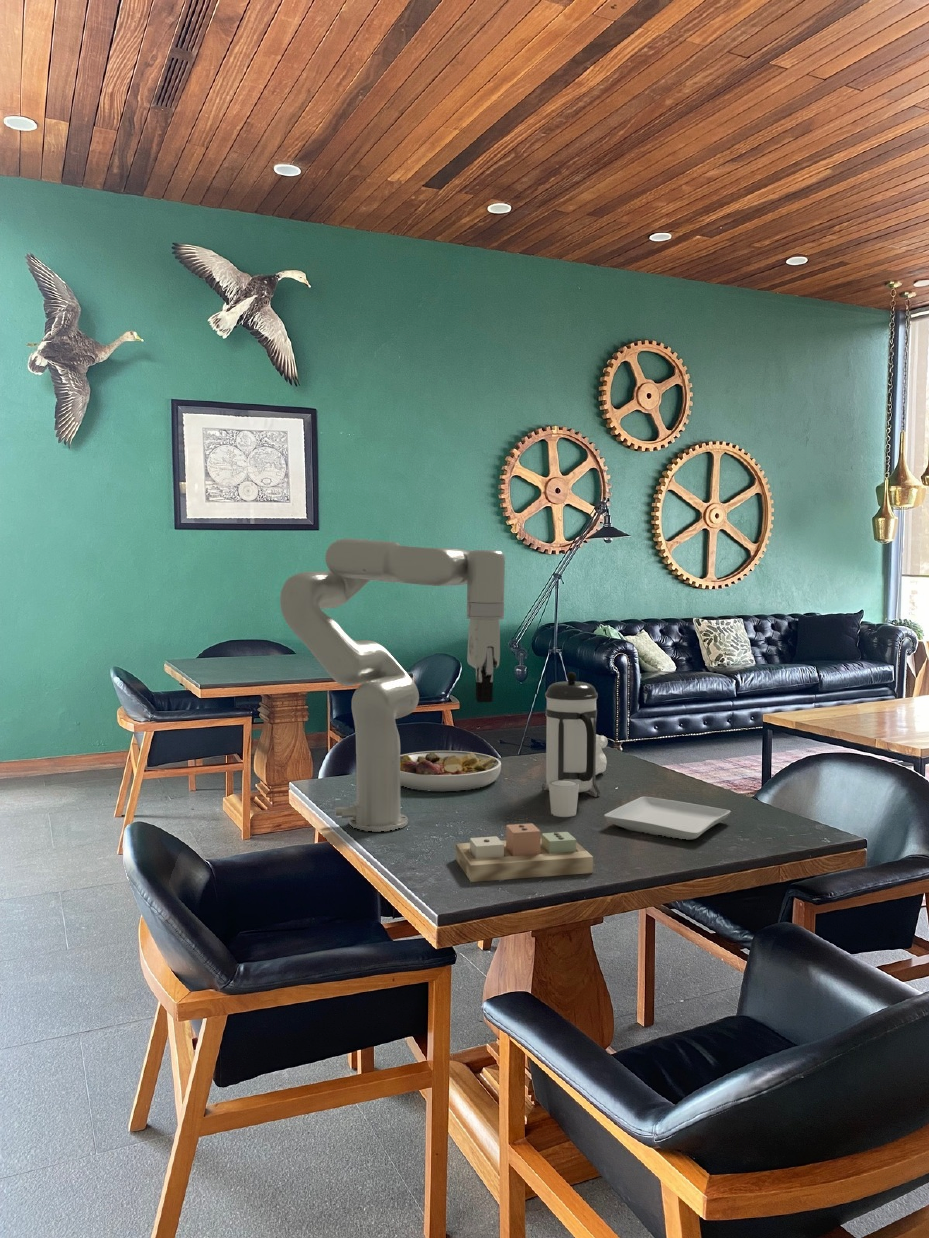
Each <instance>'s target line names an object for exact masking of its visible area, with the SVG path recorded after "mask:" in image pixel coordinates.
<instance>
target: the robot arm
mask: <svg viewBox="0 0 929 1238" xmlns="http://www.w3.org/2000/svg"><path fill="white" fill-rule="evenodd" d="M324 557H325V558H324V561H325V564H326V566H327V568H328V570H324V571H322V570H321V571H319V570H318V571H317V570H316V571H315V570H314V571H311V570H310V571H302V572H297V573H295V574H293V575H291V576H290V577H288V578H287V579H286V581H285V582H284V584H283V585H282V588H281V591H280V598H279V601H280V610H281V614H282V617H283V620H285V623H286V624H287V626H288V627H289V629H290V630H291V631H292V632H293V633H294V634H295V636H296V637H298V639H299V640H300V641H301V642H302V643H303V644H304V646H306V648H307V649H308V650H309V651H310V653H311V654H312V655H313V656H314V657H315V660H317V662H318V663H319V664H320V665H321V666H322V667H323V669H324V670H325V671H326V672H327V674H328V675H329V676H330V677H331V678H332V680H334V681H335V682H336V683H337V684H339V685H340V686H345V687H349V686H350V687H352V686H356V685H359V686H358V687H357V688H356V689H355V691H354V693H353V695H352V698H351V713H352V718H353V725H354V730H355V733H354V734H355V754H356V756H355V759H356V769H355V770H356V775H355V779H356V781H355V782H356V801H353V805H352V804H351V805H349V807H346V806H345V807H343V806H340V807H339V806H338V807H334V817H335V818H336V817H337V818H338V817H341V818H342V819H347V818H349V821H348V822H349V824H350V825H351V826H352V827H353V828H352V827H351V826H350V825H349V824H348V825H349V826H350V827H351V828H352V829H354V828H358V829H361V830H365V831H364V832H368V831H372V832H373V833H374V832H375V833H376V832H377V833H381V831H384V832H391V831H390V830H392V831H396V830H395V829H397V830H399V829H398V828H400V829H402V828H405V827H406V826H407V825H408V823H409V821H408V820H409V819H408V816H407V815H405V814H403V813H401V810H402V809H401V802H402V801H401V791H402V790H401V789H402V788H401V787H402V786H401V784H400V755H401V739H400V738H401V737H400V733H399V731H398V726H397V722H396V720H397V719H401V718H403V717H406V716H408V715H410V714H412V713H413V712H414V711H415V710H416V708H417V706H418V704H419V701H420V693H419V689H418V686H417V684H416V683H415V681H414V680H413V678H412V677H411V676H410V675H409V674H408V673H407V671H406V670H405V669H404V668H403V667H402V665H400V663H399V662H398V661H397V660H396V658H394V656H393V655H392V654H391V653H390V652H389V651H388V650H387V649H386V648H385V647H384V646H383V645H382V644H380V643H378V642H376V641H374V640H368V639H365V640H362V639H361V640H354V639H353V638H351V637H350V636H349V635H348V634H347V633H346V632H345V630H344V629H343V628H342V627H341V625H339V623H338V622H337V621H335V619H333V618H332V617H331V616H329V615H327V614H326V613H325V612H323V610H325V609H336V608H338V607H340V606H343V605H344V604H346V603H347V602H349V600H351V598H353V597H354V596H355V595H356V594H358V592H360V590H362V588H364V587H365V586H366V585H367V584H368V583H369V582H370V581H376V582H377V581H378V582H388V583H393V584H394V583H401V584H410V585H420V586H422V585H423V586H433V587H444V586H446V587H447V586H461V585H466V619H468V620H469V626H468V637H467V654H466V655H467V656H466V660H467V664H468V665H469V666H471V667H472V668H474V669H475V680H476V681H475V701H476V702H477V703H492V702H493V694H494V693H493V692H494V691H493V690H494V688H493V687H494V684H493V682H494V669H497V668H499V667H500V659H501V633H500V632H501V631H500V630H501V629H500V620H504V619H505V578H506V577H505V574H506V573H505V572H506V570H505V568H506V567H505V566H506V564H505V563H506V561H505V560H506V559H505V554H504V553H503V551H500V550H494V549H493V550H492V549H489V550H488V549H475V550H468V549H462V548H450V547H449V548H448V547H445V548H444V547H440V548H439V547H438V548H437V547H435V548H434V547H420V546H409V545H408V546H406V545H400V544H399V542H396V541H388V540H387V541H386V540H385V541H384V540H371V539H366V538H365V539H363V538H362V539H361V538H342V539H337V540H336V541H333V542H332V543H331V544H330V545H329V546H328V547H327V550H326V551H325V556H324ZM361 830H360V831H361ZM372 832H371V833H372Z"/></svg>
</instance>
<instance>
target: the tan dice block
mask: <svg viewBox="0 0 929 1238" xmlns="http://www.w3.org/2000/svg"><path fill="white" fill-rule="evenodd" d="M541 837H542V832H541V830H540V829H539V828H538V826H536V825H535V824H534V823H516V824H506V825H505V840H506V850H507V851H508V852H509V853H510V855H511V856H521V855H536V854H540V841H541Z"/></svg>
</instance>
